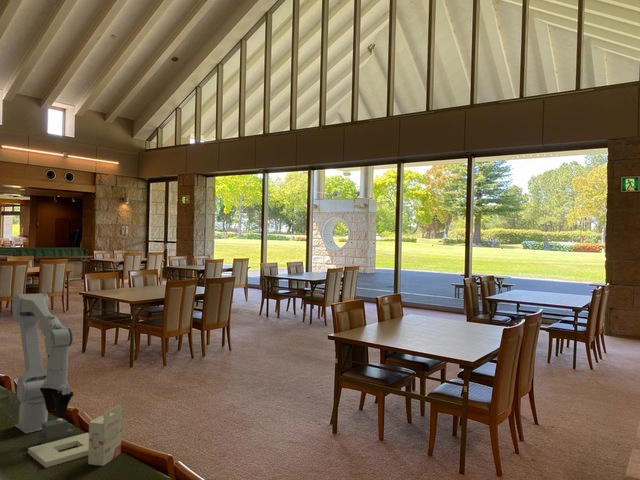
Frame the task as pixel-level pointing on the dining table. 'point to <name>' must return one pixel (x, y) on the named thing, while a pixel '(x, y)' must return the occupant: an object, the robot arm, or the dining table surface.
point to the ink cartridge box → (105, 437)
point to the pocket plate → (50, 454)
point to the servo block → (54, 431)
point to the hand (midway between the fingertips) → (55, 413)
